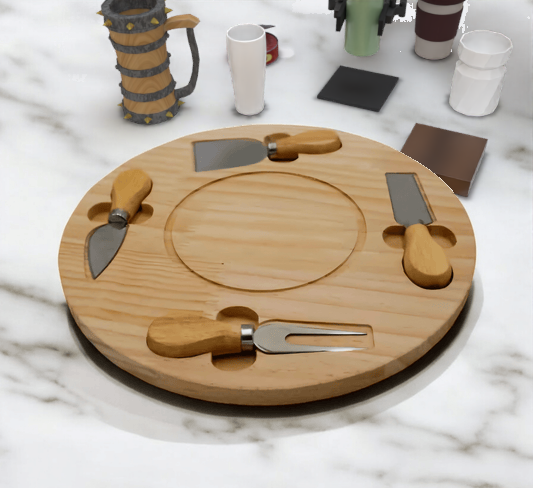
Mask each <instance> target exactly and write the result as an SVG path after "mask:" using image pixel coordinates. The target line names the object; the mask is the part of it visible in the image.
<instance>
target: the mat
mask: <svg viewBox="0 0 533 488" xmlns="http://www.w3.org/2000/svg"><path fill="white" fill-rule="evenodd" d="M399 80H400V77H399V76H395V75H390V74H386V73H379V72H374V71H370V70H365V69H362V68H361V69H360V68H355V67H350V66H347V65H346V66H345V65H341V64H340V65H339V67H337V69H336V70H335V71H334V73H333V74H332V75H331V77H330V78H329V79H328V80H327V82H326V83H325V84H324V86H323V87H322V89H321V90H320V91H319V92H318V94H317V96H316V99H320V100H323V101H329V102H333V103H336V104H342V105H345V106H350V107H353V108H360V109H363V110H367V111H373V112H376V113H379V112H380V110H381V109H382V107H383V106H384V104H385V102H386V101H387V100H388V98H389V96H390V94H391V93H392V91H393V90H394V88H395V87H396V85H397V84H398V82H399Z"/></svg>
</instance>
